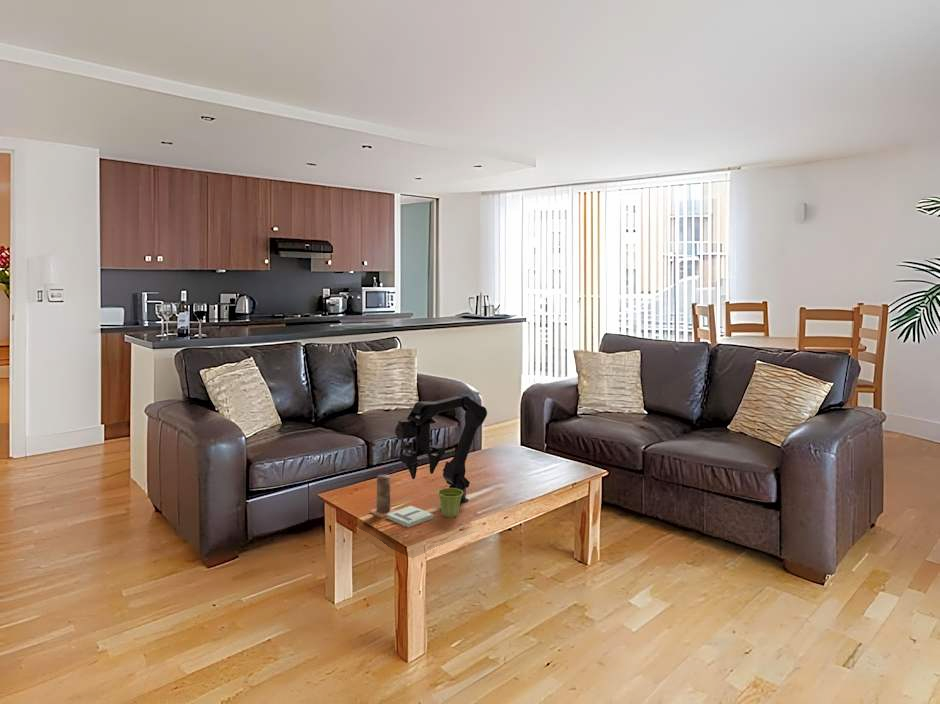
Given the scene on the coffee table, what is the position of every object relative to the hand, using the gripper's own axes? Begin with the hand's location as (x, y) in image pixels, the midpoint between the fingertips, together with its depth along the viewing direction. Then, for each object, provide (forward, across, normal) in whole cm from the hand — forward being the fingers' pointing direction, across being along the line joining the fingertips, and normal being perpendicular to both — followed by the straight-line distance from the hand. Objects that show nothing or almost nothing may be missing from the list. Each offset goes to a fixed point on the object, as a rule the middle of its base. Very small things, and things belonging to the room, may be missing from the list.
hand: (422, 476), depth 240 cm
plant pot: (+13, -4, +11) cm, 18 cm away
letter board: (+13, +9, +3) cm, 16 cm away
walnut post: (+12, +12, -8) cm, 19 cm away
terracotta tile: (+13, +12, -8) cm, 20 cm away
